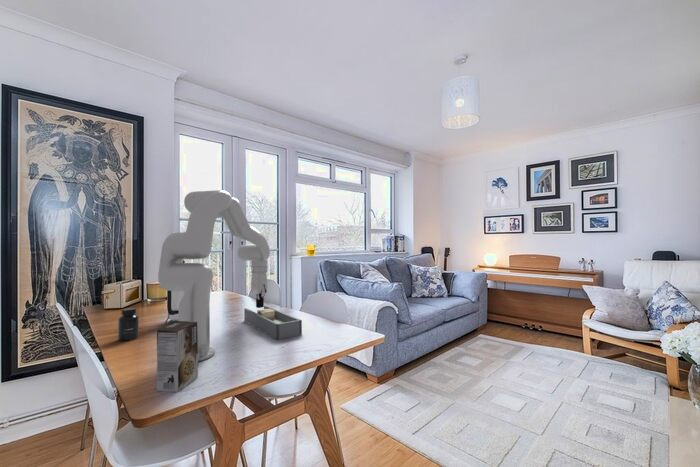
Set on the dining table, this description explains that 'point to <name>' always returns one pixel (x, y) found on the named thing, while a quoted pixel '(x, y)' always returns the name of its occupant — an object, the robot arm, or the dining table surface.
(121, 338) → the supplement bottle
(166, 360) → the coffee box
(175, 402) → the dining table surface
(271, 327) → the trap box
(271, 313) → the beech block
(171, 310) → the coffee press
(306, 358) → the dining table surface
